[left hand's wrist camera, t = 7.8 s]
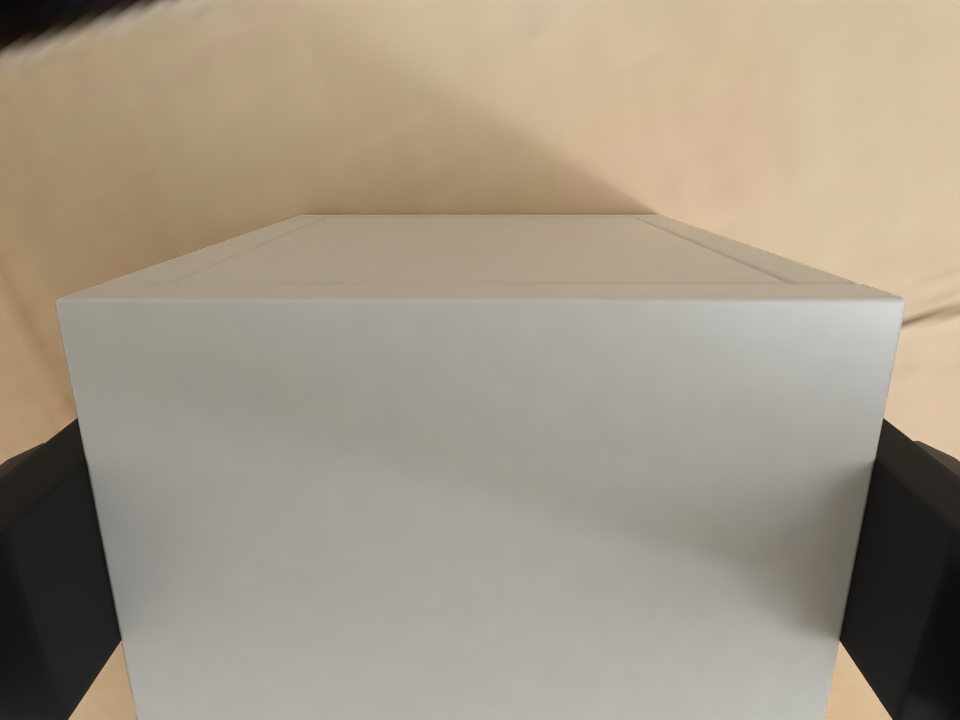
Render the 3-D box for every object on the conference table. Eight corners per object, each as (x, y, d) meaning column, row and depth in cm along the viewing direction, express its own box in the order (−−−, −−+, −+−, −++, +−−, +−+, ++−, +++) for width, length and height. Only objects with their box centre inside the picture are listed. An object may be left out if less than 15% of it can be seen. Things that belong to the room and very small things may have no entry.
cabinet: (618, 755, 23) (726, 1226, 13) (342, 755, 23) (234, 1225, 13) (661, 214, 18) (909, 297, 8) (298, 214, 18) (50, 298, 8)
